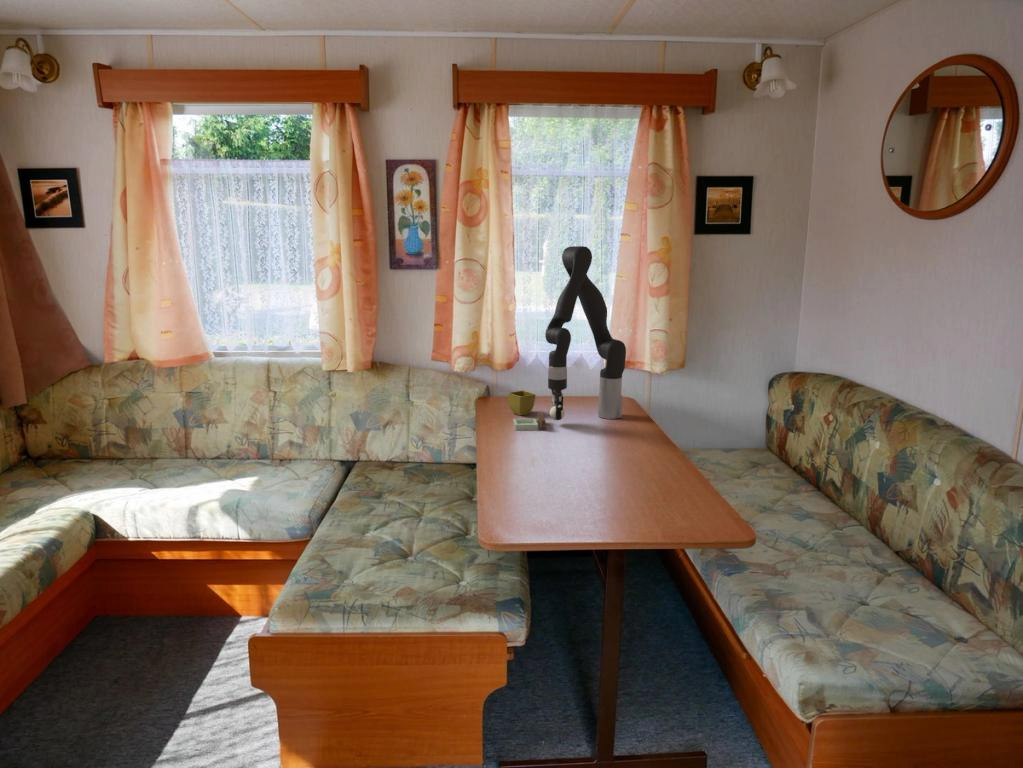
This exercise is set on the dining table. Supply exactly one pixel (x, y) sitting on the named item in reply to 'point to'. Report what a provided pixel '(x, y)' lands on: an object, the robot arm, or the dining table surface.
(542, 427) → the rail
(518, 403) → the flower pot
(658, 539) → the dining table surface
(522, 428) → the dish
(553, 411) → the ball
